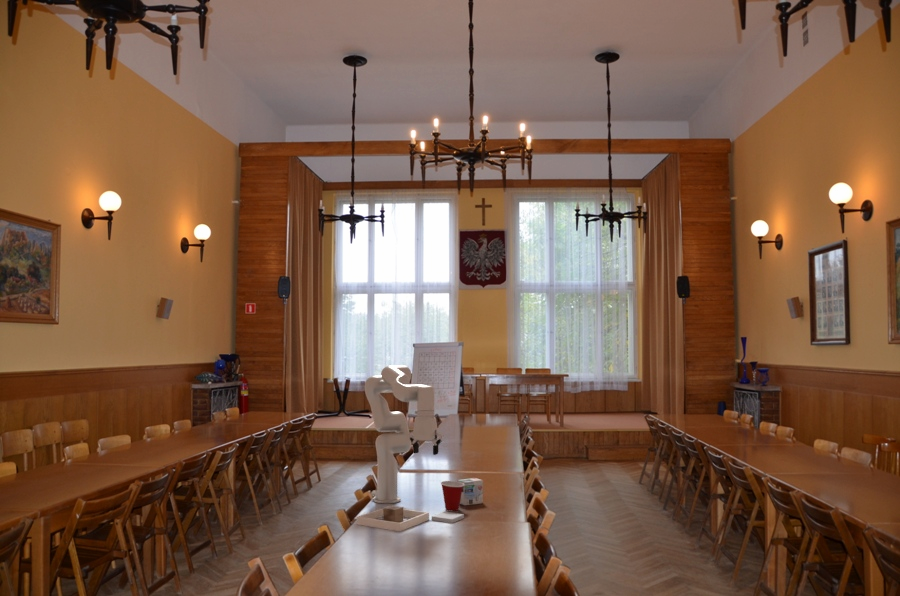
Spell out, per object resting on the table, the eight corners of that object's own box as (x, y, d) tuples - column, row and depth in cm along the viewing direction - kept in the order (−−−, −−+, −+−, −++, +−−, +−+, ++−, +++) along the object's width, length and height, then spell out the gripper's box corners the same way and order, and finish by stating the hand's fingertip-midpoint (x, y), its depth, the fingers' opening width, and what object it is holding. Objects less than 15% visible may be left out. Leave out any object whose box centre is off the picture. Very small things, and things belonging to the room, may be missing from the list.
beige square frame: (356, 524, 290) (356, 516, 290) (387, 513, 308) (387, 506, 308) (400, 531, 279) (400, 523, 279) (429, 519, 297) (429, 512, 297)
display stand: (431, 520, 297) (431, 516, 297) (443, 515, 305) (443, 511, 305) (452, 522, 292) (452, 519, 292) (464, 517, 300) (464, 514, 300)
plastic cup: (462, 513, 309) (461, 485, 310) (438, 511, 312) (438, 484, 313) (467, 507, 320) (466, 480, 321) (443, 506, 322) (443, 479, 323)
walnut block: (383, 523, 292) (383, 508, 293) (391, 519, 297) (391, 505, 298) (395, 524, 289) (395, 509, 290) (403, 521, 294) (403, 507, 295)
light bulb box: (464, 505, 324) (464, 482, 325) (456, 503, 330) (456, 479, 330) (483, 503, 329) (483, 479, 330) (475, 500, 335) (475, 477, 336)
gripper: (404, 414, 309) (404, 453, 308) (438, 415, 301) (439, 456, 300) (413, 412, 315) (413, 451, 314) (447, 414, 307) (447, 453, 306)
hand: (425, 453), depth 307 cm, fingers open, 9 cm apart
